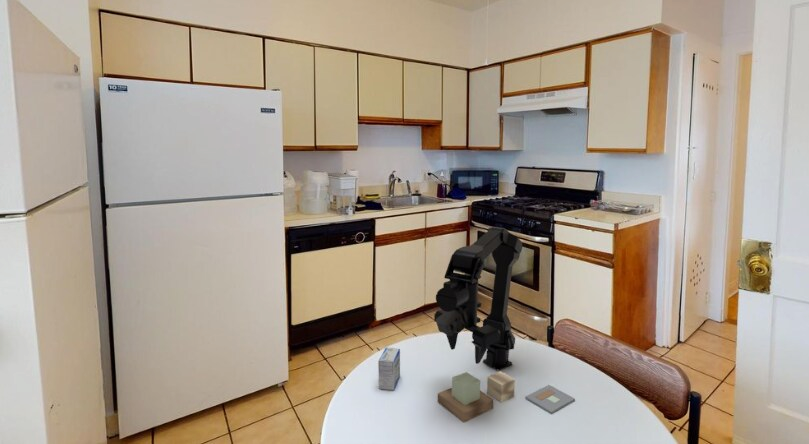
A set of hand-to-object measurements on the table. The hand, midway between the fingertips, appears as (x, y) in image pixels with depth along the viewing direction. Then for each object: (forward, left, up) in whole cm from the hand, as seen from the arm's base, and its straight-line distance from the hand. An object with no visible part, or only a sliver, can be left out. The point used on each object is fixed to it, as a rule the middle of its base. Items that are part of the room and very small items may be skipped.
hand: (464, 355), depth 110 cm
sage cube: (+2, +3, -9) cm, 10 cm away
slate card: (-18, +14, -12) cm, 25 cm away
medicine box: (+12, -17, -12) cm, 24 cm away
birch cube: (-9, +5, -12) cm, 16 cm away
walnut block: (+2, +3, -12) cm, 13 cm away
